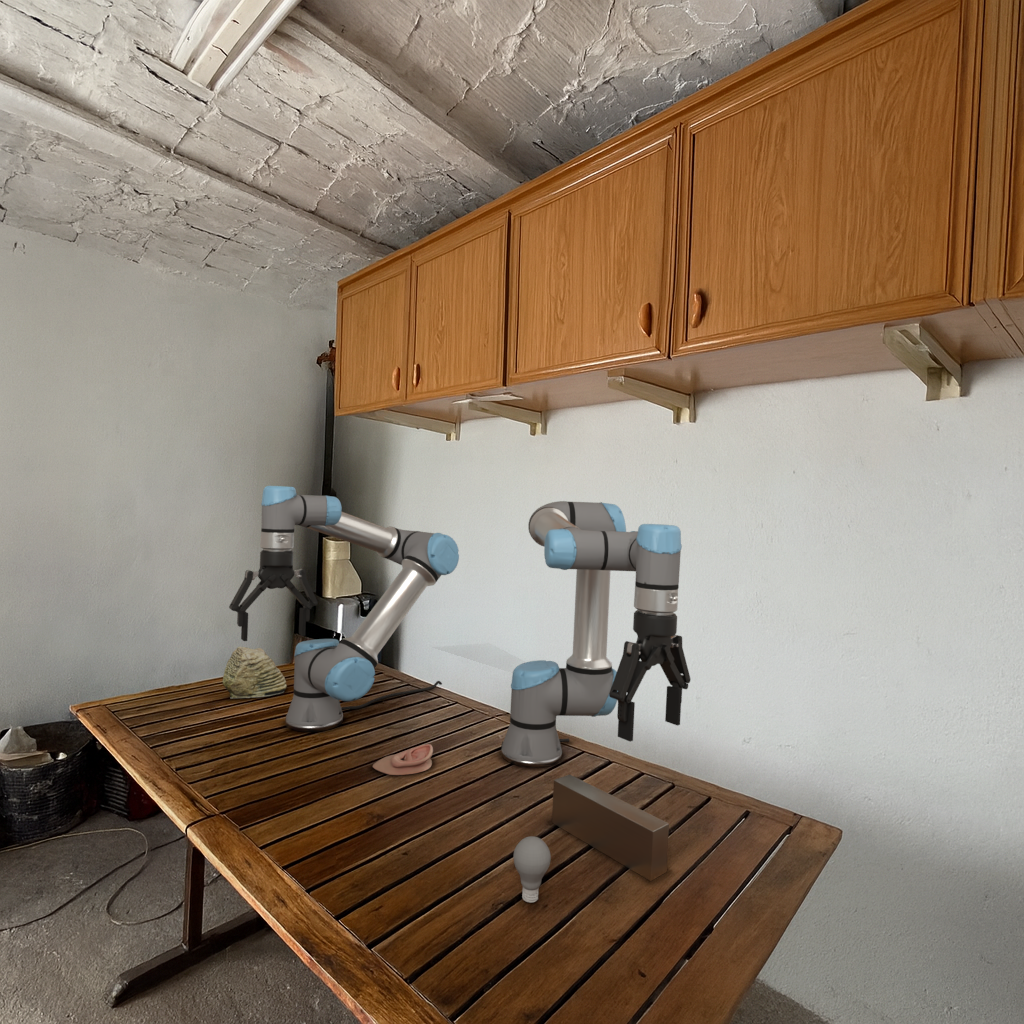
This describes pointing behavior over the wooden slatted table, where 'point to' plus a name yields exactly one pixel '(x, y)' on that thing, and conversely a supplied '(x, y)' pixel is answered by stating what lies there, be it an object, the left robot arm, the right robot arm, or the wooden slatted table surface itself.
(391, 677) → the wooden slatted table surface
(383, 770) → the anatomical model
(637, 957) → the wooden slatted table surface
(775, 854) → the wooden slatted table surface
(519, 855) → the light bulb
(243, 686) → the fossil
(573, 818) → the bar
